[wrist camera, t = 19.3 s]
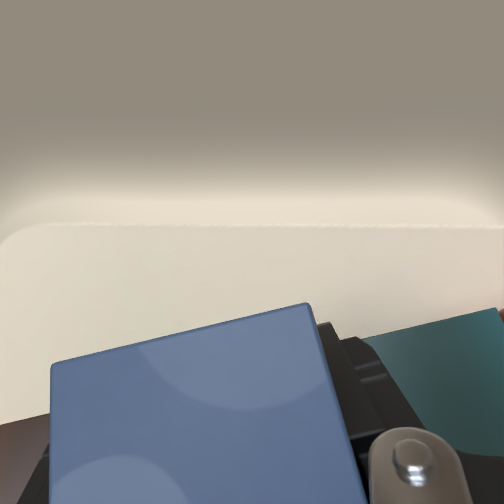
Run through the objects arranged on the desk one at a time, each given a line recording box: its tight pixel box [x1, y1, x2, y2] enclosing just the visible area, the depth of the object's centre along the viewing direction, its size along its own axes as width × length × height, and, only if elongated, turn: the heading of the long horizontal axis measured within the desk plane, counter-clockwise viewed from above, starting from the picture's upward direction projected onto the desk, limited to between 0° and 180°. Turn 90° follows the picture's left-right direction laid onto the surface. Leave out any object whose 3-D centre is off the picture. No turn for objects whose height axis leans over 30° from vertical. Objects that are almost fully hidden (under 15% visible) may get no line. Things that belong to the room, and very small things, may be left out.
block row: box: [0, 308, 504, 504], centre depth 14 cm, size 24×5×5 cm, turn 102°
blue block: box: [49, 303, 368, 504], centre depth 9 cm, size 4×4×8 cm
